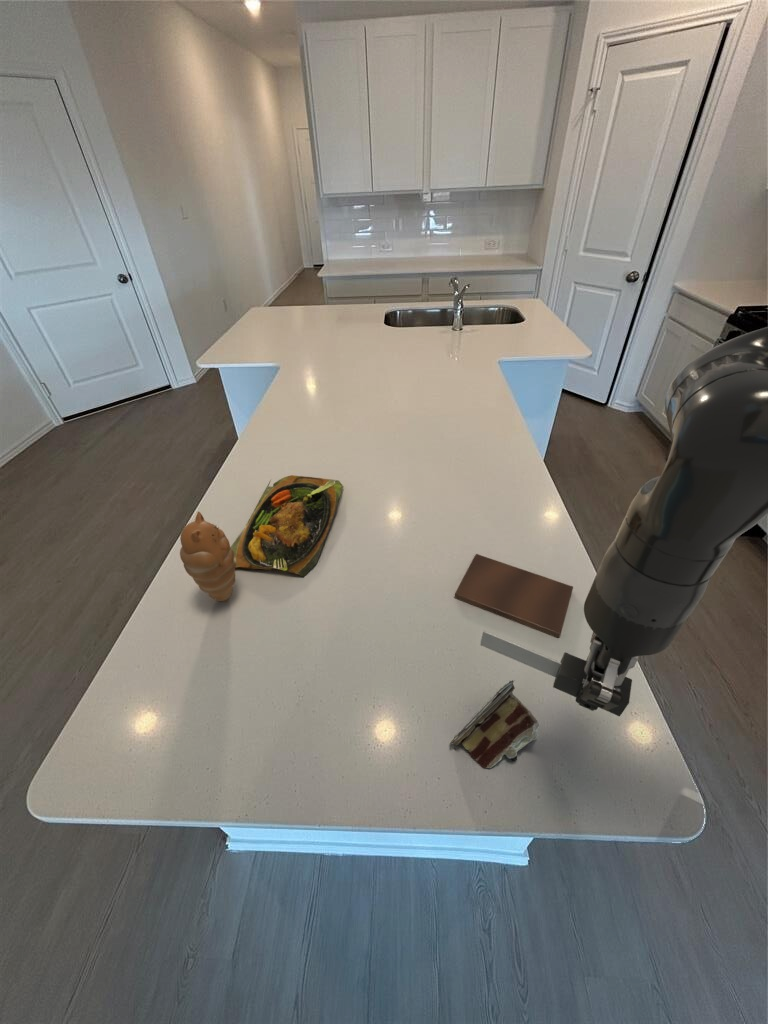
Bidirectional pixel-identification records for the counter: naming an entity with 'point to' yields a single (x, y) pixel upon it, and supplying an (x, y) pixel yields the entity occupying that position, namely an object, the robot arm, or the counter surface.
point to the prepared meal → (288, 525)
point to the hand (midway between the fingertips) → (588, 689)
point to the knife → (553, 667)
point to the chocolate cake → (498, 729)
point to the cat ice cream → (208, 558)
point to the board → (516, 594)
